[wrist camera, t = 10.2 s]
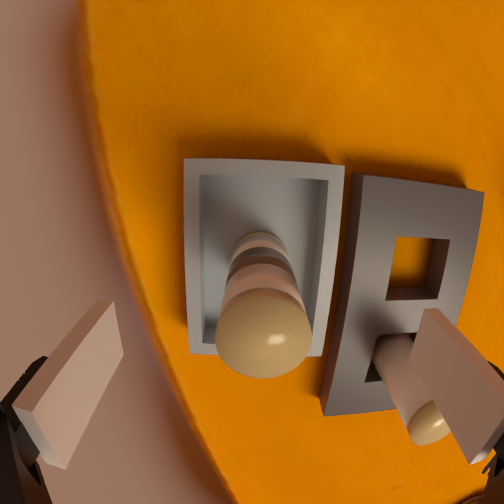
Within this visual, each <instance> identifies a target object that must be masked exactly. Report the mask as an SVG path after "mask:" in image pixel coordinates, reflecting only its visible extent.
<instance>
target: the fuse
mask: <svg viewBox="0 0 504 504" xmlns="http://www.w3.org/2000/svg"><path fill="white" fill-rule="evenodd" d="M413 344H414V341H413V340H412V339H411V337H410V336H409V335H408V333H398V334H381V335H377V338H376V342H375V345H374V349H373V353H372V357H371V360H372V362H373V364H374V366H375V368H376V369H377V371H378V373H379V375H380V377H381V379H382V381H383V383H384V385H385V387H386V389H387V391H388V393H389V395H390V397H391V399H392V400H393V402H394V404H395V406H396V408H397V410H398V412H399V414H400V417H401V419H402V421H403V423H404V425H405V427H406V429H407V431H408V433H409V435H410V437H411V439H412V441H413V443H414V444H416V445H427V444H431V443H433V442H436V441H438V440H440V439H441V438H443V437H444V436H446V435H447V434H448V433H450V432H451V430H450V428H449V426H448V425H447V423H446V421H445V420H444V418H443V416H442V414H441V413H440V411H439V409H438V407H437V406H436V404H435V402H434V401H433V399H432V397H431V396H430V394H429V392H428V391H427V389H426V387H425V386H424V384H423V383H422V381H421V379H420V378H419V376H418V374H417V373H416V371H415V370H414V368H413V366H412V365H411V363H410V362H409V360H408V359H409V356H410V353H411V350H412V347H413Z"/></svg>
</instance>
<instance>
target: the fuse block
mask: <svg viewBox="0 0 504 504" xmlns="http://www.w3.org/2000/svg"><path fill="white" fill-rule="evenodd" d="M483 200H484V192H480V191H476V190H472V189H468V188H463V187H458V186H452V185H446V184H440V183H433V182H426V181H420V180H412V179H405V178H397V177H389V176H381V175H372V174H363V173H353V172H352V182H351V194H350V206H349V216H348V226H347V235H346V244H345V252H344V260H343V268H342V275H341V282H340V289H339V296H338V302H337V308H336V315H335V321H334V326H333V332H332V338H331V343H330V349H329V354H328V359H327V364H326V369H325V374H324V379H323V383H322V388H321V393H320V397H319V400H320V404H321V408H322V412H323V416H335V415H347V414H357V413H366V412H375V411H382V410H390V409H396V406H395V404H394V402H393V400H392V399H391V397H390V395H389V393H388V391H387V389H386V387H385V385H384V383H383V381H382V379H381V377H380V375H379V373H378V371H377V369H376V368H375V366H374V365H369V364H370V361H371V357H372V353H373V349H374V345H375V342H376V338H377V335H381V334H398V333H412V335H411V339H412V340H413V341H415V338H416V335H417V332H418V328H419V325H420V321H421V318H422V314H423V311H424V309H431V308H438V309H439V310H440V311H441V312H442V313H443V314H444V315H445V316H446V317H447V318H448V319H449V320H450V321H451V322H452V324H453V325H454V326H456V323H457V319H458V316H459V313H460V310H461V306H462V303H463V299H464V295H465V292H466V288H467V284H468V280H469V276H470V272H471V268H472V263H473V259H474V254H475V249H476V244H477V239H478V233H479V227H480V221H481V215H482V208H483ZM396 236H403V237H419V238H434V239H433V245H432V250H431V256H430V261H429V266H428V271H427V276H426V280H425V285H424V287H388V283H389V278H390V273H391V267H392V261H393V255H394V249H395V243H396Z"/></svg>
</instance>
